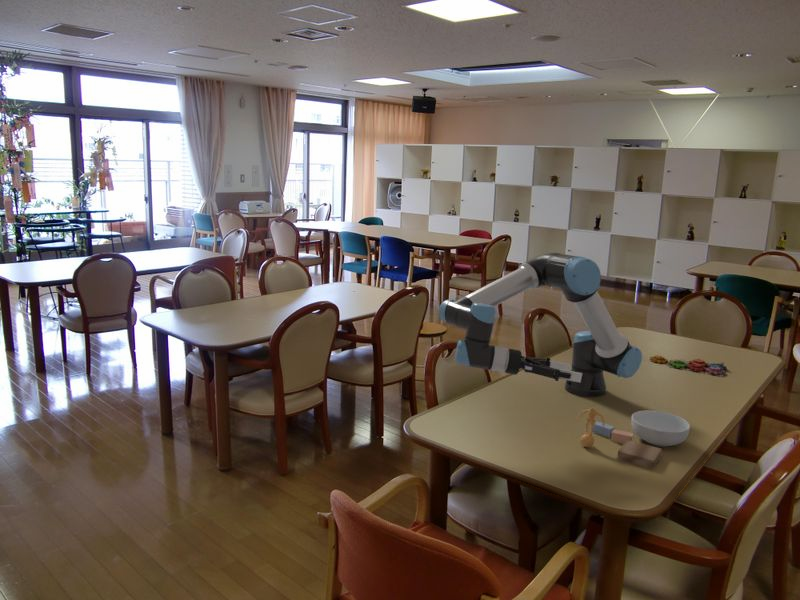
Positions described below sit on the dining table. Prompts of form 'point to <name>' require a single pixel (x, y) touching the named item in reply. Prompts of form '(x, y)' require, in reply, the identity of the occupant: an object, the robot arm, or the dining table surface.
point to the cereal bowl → (659, 427)
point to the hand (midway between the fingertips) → (575, 373)
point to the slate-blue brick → (603, 429)
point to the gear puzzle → (693, 365)
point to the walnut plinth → (639, 454)
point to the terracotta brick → (621, 436)
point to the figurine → (588, 439)
